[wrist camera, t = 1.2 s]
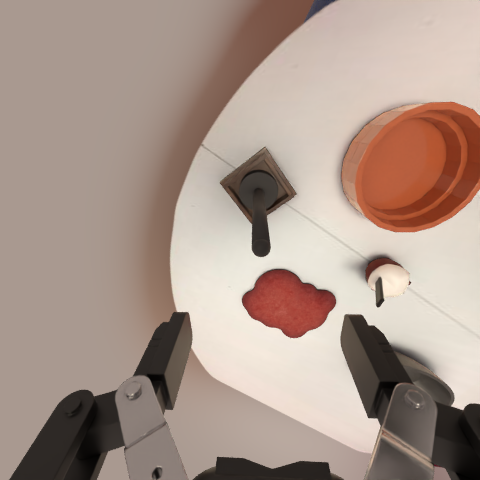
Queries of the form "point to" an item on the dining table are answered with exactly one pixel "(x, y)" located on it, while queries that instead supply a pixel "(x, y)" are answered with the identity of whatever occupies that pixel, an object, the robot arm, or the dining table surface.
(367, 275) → the cocoa
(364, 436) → the dining table surface
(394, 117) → the orange round dish
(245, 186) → the black plunger
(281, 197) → the small square brown tray
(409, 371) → the bowl
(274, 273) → the patty
